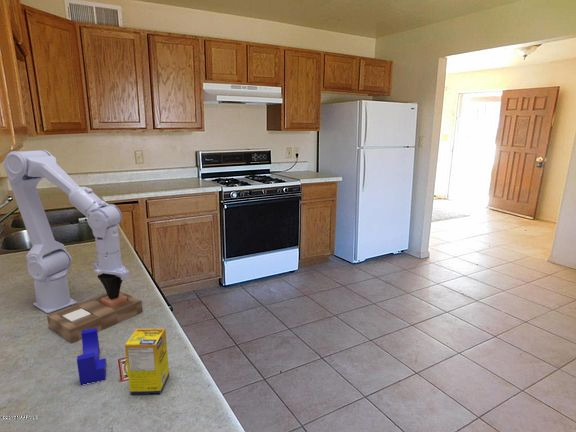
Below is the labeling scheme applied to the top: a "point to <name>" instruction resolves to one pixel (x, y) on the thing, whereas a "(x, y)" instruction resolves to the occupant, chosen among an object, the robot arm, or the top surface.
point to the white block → (76, 315)
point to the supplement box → (147, 361)
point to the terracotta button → (113, 300)
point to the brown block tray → (93, 316)
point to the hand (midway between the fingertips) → (113, 297)
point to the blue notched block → (91, 359)
